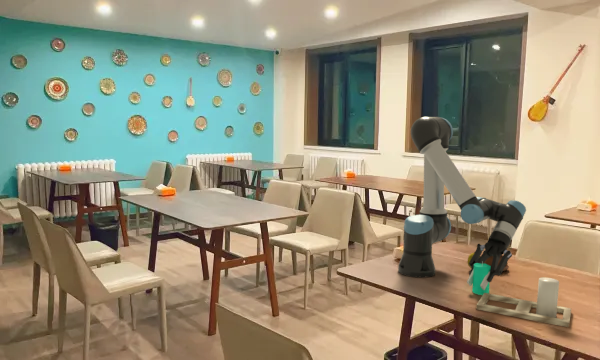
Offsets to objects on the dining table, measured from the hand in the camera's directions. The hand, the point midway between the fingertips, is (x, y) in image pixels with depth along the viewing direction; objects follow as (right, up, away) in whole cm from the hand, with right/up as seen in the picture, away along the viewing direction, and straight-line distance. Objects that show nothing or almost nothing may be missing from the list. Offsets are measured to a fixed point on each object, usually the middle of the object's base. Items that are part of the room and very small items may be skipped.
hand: (475, 285), depth 186 cm
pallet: (+11, -5, -15) cm, 19 cm away
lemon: (+10, 0, +30) cm, 31 cm away
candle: (+3, -3, +3) cm, 5 cm away
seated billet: (+17, -6, -18) cm, 26 cm away
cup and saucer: (+19, 0, +32) cm, 37 cm away
